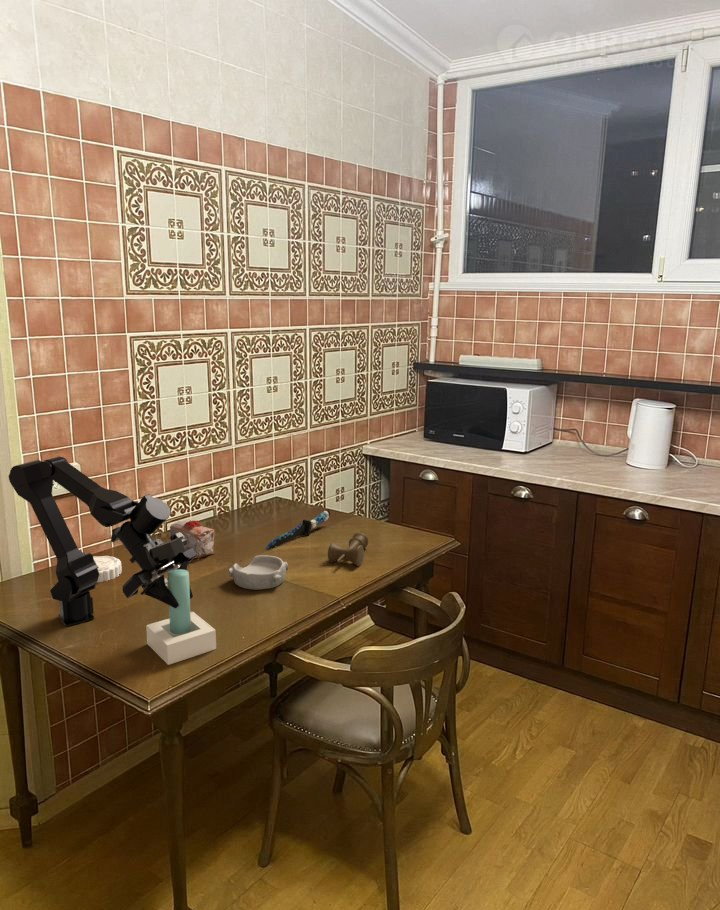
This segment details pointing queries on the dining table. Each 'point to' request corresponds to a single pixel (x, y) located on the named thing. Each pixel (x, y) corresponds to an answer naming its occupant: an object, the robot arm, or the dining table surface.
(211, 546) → the food item
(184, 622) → the teal dowel
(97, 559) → the mooncake
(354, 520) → the dining table surface
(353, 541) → the kendama
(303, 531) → the knife
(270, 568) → the dish
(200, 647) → the well block
